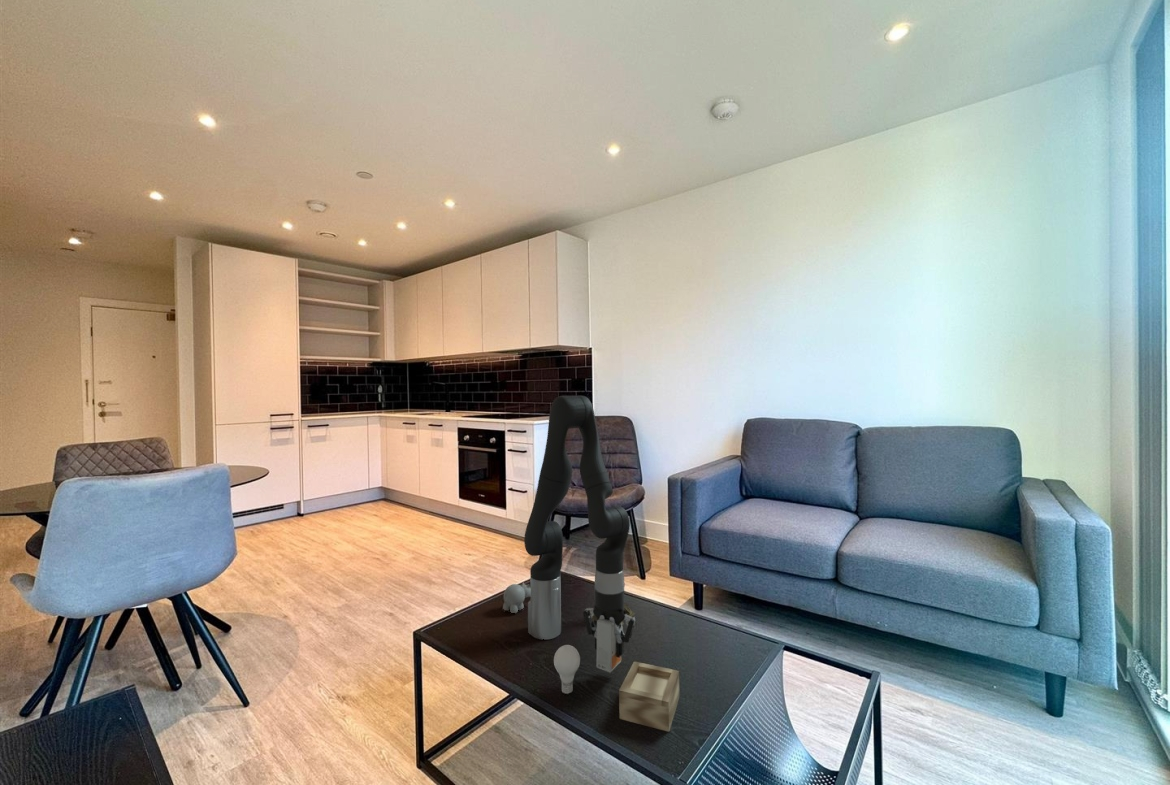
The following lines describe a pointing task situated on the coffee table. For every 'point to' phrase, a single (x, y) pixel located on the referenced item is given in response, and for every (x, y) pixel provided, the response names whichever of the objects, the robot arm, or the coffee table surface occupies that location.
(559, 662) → the lightbulb
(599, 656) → the skincare box
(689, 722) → the coffee table surface
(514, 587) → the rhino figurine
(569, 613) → the coffee table surface
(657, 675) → the wooden box
